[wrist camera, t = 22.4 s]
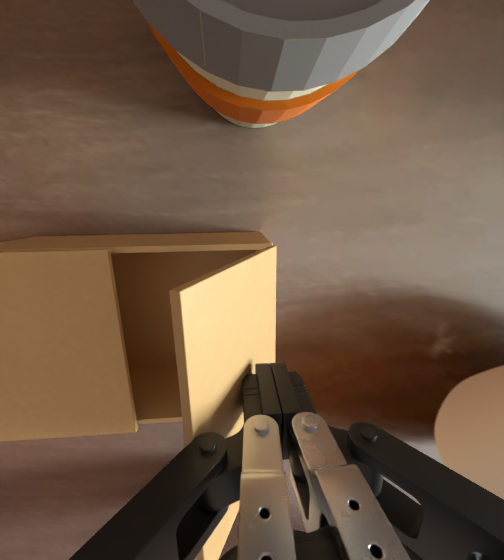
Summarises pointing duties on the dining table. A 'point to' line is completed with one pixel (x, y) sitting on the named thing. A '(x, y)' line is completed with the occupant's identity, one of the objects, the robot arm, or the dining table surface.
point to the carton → (97, 328)
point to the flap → (222, 352)
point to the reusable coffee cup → (273, 49)
